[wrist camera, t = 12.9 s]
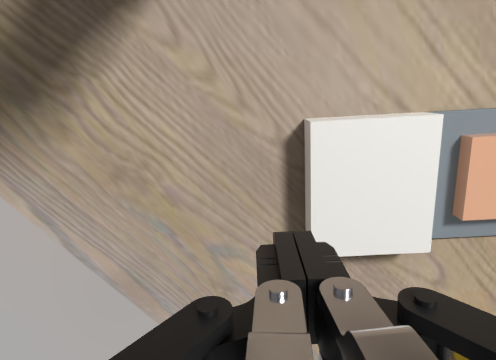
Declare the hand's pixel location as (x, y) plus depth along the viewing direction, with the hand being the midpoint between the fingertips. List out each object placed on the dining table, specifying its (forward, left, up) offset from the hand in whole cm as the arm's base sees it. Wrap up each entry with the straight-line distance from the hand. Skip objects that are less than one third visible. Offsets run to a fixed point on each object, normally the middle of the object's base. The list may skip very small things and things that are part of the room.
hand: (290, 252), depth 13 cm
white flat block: (+5, +12, -27) cm, 30 cm away
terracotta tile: (+5, +27, -24) cm, 37 cm away
